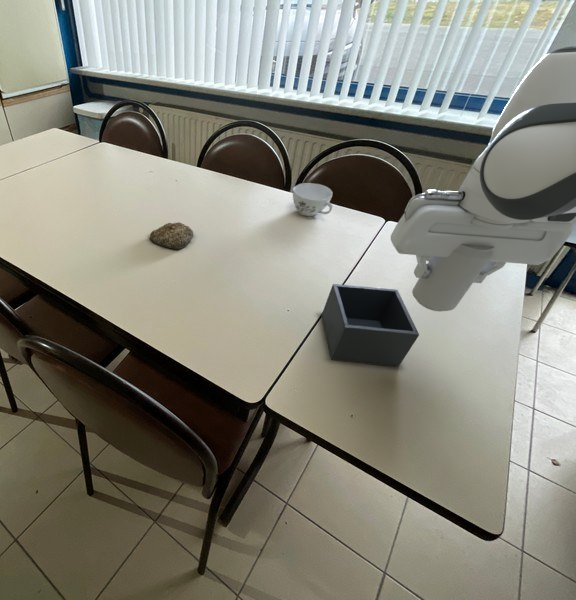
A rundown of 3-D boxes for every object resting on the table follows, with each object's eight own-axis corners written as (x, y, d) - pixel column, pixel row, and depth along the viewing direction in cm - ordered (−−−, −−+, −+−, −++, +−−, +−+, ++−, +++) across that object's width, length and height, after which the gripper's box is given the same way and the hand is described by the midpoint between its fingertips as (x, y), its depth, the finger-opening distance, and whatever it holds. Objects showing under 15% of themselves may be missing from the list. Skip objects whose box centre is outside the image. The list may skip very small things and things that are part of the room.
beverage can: (411, 308, 58) (449, 244, 50) (408, 284, 63) (443, 222, 55) (457, 318, 56) (504, 255, 48) (451, 293, 61) (493, 231, 53)
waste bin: (398, 367, 76) (419, 334, 69) (331, 359, 77) (345, 327, 71) (380, 321, 86) (397, 289, 79) (321, 315, 87) (332, 283, 81)
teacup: (280, 209, 127) (285, 187, 122) (306, 200, 132) (312, 179, 127) (313, 228, 118) (319, 205, 112) (339, 218, 122) (347, 196, 117)
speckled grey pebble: (176, 254, 107) (176, 239, 103) (144, 240, 112) (143, 226, 109) (201, 235, 114) (202, 221, 111) (170, 223, 120) (169, 209, 117)
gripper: (423, 200, 46) (381, 284, 55) (604, 212, 44) (528, 298, 53) (407, 179, 50) (371, 260, 60) (570, 189, 48) (506, 271, 58)
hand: (446, 278), depth 56 cm, fingers closed on beverage can, 6 cm apart
